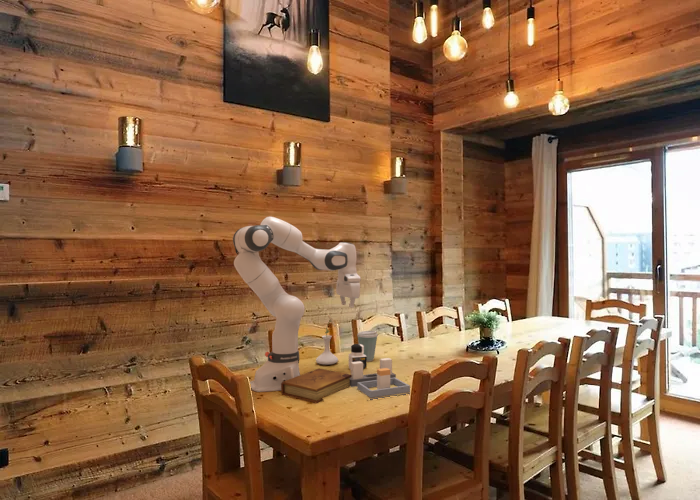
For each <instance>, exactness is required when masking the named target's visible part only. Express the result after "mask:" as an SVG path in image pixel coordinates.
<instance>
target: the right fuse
mask: <svg viewBox="0 0 700 500" xmlns="http://www.w3.org/2000/svg"><path fill="white" fill-rule="evenodd" d="M382 368H388V369H390V374H392V373H393V359H392V358H390V357H385V358H379V369H382Z"/></svg>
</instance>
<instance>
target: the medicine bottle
mask: <svg viewBox="0 0 700 500" xmlns="http://www.w3.org/2000/svg"><path fill="white" fill-rule="evenodd" d="M350 347H351V348H350V351H351V353H348V369H349V370H350V371H351V362H358V361H361V362H363V370H367V369H368V364H367V356H366V355H364V354H363V353H364V346H363V345H362V344H359V343H354V344H351V346H350Z"/></svg>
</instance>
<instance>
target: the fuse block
mask: <svg viewBox="0 0 700 500" xmlns="http://www.w3.org/2000/svg"><path fill="white" fill-rule="evenodd" d="M390 378H397V375H396V374H395V373H394V372H392V374H390ZM372 380H377V372H376V373H368V374H363V378H359V379H352V378H351V377H350V386H349V387H350V388H353V387H355V388H357V382H365V381H372Z"/></svg>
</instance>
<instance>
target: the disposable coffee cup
mask: <svg viewBox="0 0 700 500" xmlns="http://www.w3.org/2000/svg"><path fill="white" fill-rule="evenodd" d="M378 336H379V334H378V332H377V331H376V330H365V331H364V330H363V331H359V332H357V336H356V337H357V341H358V343H357V344H362V345H363V346H364V353H363V354H364V355H366V356H367V362H373V361H374V359H375V354H376V346H377V340H378Z"/></svg>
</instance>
